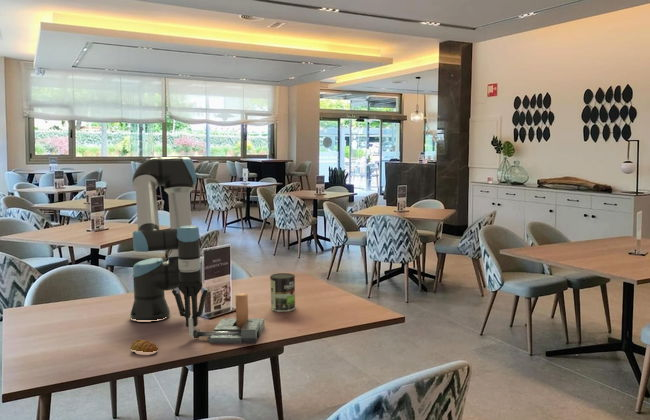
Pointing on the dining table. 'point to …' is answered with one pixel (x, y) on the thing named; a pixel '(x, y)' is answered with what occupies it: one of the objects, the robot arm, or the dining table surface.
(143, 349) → the pastry
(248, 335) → the dock
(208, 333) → the lock pin
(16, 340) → the dining table surface
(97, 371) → the dining table surface
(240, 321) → the wooden block
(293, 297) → the coffee can
